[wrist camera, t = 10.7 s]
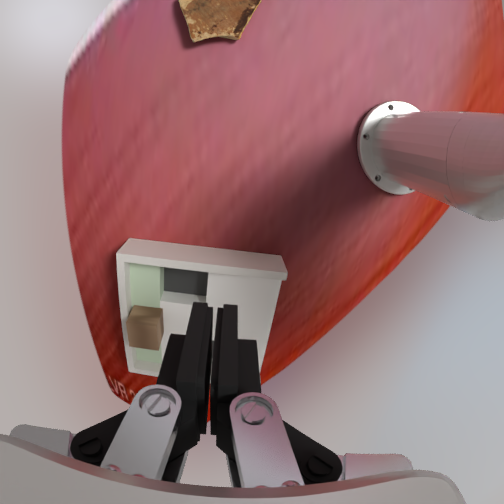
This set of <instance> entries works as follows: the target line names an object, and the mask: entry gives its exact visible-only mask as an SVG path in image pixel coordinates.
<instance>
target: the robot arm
mask: <svg viewBox="0 0 504 504" xmlns="http://www.w3.org/2000/svg"><path fill="white" fill-rule="evenodd" d="M388 107H389V109H388ZM363 135H365V138H363ZM357 150H358V157H359V160H360V164H361V166H362V168H363V170H364V172H365V174H366V175H367V177H368V178H369V179H370V181H371V182H373V183H374V184H375V185H376V186H377V187H379V188H380V189H382V190H384V191H386V192H388V193H392V194H396V195H404V194H409V193H412V192H414V191H418V192H420V193H423V194H425V195H427V196H430V197H432V198H435V199H437V200H439V201H441V202H444V203H446V204H448V205H450V206H453V207H455V208H457V209H459V210H461V211H463V212H465V213H468V214H470V215H472V216H474V217H476V218H479V219H482V220H486V221H498V220H502V219H504V114H500V113H482V112H456V111H424V112H421V111H420V110H418V109H417V108H416V107H414V106H413V105H411V104H409V103H406V102H402V101H388V102H384V103H381V104H379V105H377V106H375V107H374V108H373V109H372V110H370V111H369V112H368V113H367V115H366V116H365V118H364V119H363V121H362V123H361V126H360V128H359V133H358V138H357ZM375 177H376V179H375ZM212 332H213V307H208V303H204V302H193V305H192V309H191V314H190V318H189V322H188V327H187V331H186V335H182V334H172V333H171V334H170V336H169V340H168V343H167V347H166V350H165V354H164V357H163V361H162V364H161V368H160V372H159V375H158V379H157V383H156V385H150V386H147V387H144V388H143V389H141V390H140V391H139V392H138V393H137V394H136V396H135V397H134V399H133V401H132V403H131V405H130V407H129V409H128V410H126V411H124V412H122V413H120V414H118V415H116V416H114V417H111V418H109V419H107V420H105V421H103V422H101V423H98V424H96V425H94V426H92V427H90V428H87V429H85V430H83V431H81V432H79V433H77V434H72V433H71V432H70V431H66V430H57V429H50V428H43V427H36V426H31V425H18V426H16V427H15V428H14V429H13V430H12V431H11V433H10V435H9V436H8V435H3V434H0V504H466V502H465V500H464V498H463V496H462V494H461V493H460V491H459V489H458V488H457V486H456V485H455V484H454V482H453V481H452V480H451V479H450V478H448V477H447V476H446V475H443V474H441V473H437V472H433V471H426V470H413V467H412V464H411V461H410V460H409V459H408V458H407V457H405V456H403V455H400V454H350V453H346V454H345V455H344V456H341V455H336V454H335V453H333V452H332V451H331V450H329V449H327V448H326V447H324V446H322V445H321V444H319V443H317V442H316V441H314V440H312V439H311V438H309V437H308V436H306V435H305V434H303V433H301V432H300V431H298V430H297V429H295V428H294V427H292V426H291V425H289V424H288V423H286V422H285V421H283V420H282V418H281V415H280V412H279V409H278V407H277V405H276V403H275V402H274V401H273V400H272V399H271V398H270V397H268V396H266V395H264V394H261V384H260V373H259V361H258V349H257V341H256V340H250V339H238V305H231V304H223V308H220V307H218V308H217V318H216V328H215V338H214V348H213V359H212ZM211 366H212V370H211ZM210 378H211V384H210ZM209 389H210V420H211V435H216V446H217V447H218V448H220V449H221V450H222V451H223V452H224V453H225V454H226V459H227V465H228V470H229V475H230V481H231V486H232V488H231V487H212V486H199V485H189V484H181V483H180V479H181V476H182V472H183V469H184V466H185V462H186V459H187V456H188V450H189V449H191V448H192V447H194V446H195V445H197V442H198V441H200V434H206V426H207V414H208V401H209Z"/></svg>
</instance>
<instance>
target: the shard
mask: <svg viewBox="0 0 504 504" xmlns="http://www.w3.org/2000/svg"><path fill="white" fill-rule="evenodd" d="M178 1H179V3H180V7H181V10H182V12H183V15H184V17H185V20H186V22H187V25H188V28H189V33H190V37H191V39H192V41H193V42H197V41H201V40H203V39H207V38H212V37H222V38H228V39H233V40H239V39H240V37H241V34H242V32H243V31H244V28H245V27H246V25H247V24H248V22H249V21H250V18H251V17H252V14H253V13H254V11H255V10H256V8H257V7H258V5H259V4H260V3H261V0H178Z"/></svg>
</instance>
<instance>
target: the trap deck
mask: <svg viewBox="0 0 504 504" xmlns="http://www.w3.org/2000/svg"><path fill="white" fill-rule="evenodd" d="M116 260H117V278H118V291H119V303H120V313H121V322H122V330H123V338H124V345H125V351H126V358H127V364H128V370H129V372H133V373H139V374H144V375H150V376H156V377H158V375H159V372H160V368H161V364H162V361H163V357H164V354H165V350H166V347H167V343H168V340H169V336H170V334H171V333H172V334H182V335H186V331H187V327H188V322H189V318H190V314H191V309H192V305H193V302H204V303H208V307H213V332H212V359H213V348H214V338H215V328H216V318H217V308H218V307H220V308H223V304H231V305H238V339H250V340H256V341H257V349H258V361H259V373H260V370H261V366H262V362H263V358H264V354H265V350H266V346H267V342H268V338H269V333H270V329H271V325H272V321H273V317H274V312H275V308H276V304H277V299H278V295H279V290H280V286H281V281H282V280H285V281H286V279H287V275H288V272H287V269H286V267H285V264H284V262H283V259H282V256H281V255H272V254H264V253H255V252H246V251H238V250H229V249H220V248H212V247H203V246H194V245H186V244H177V243H169V242H160V241H151V240H143V239H134V238H129V239H128V240H127V241H126V242H125V244H124V245H123V246H122V247H121V248H120V249H119V250H118V252H117V253H116ZM134 305H139V306H147V307H155V308H163V323H164V334H163V337H162V340H161V344H160V348H159V351H156V350H149V349H142V348H136V347H129V341H128V334H127V328H126V321H127V319H128V317H129V315H130V313H131V311H132V308H133V306H134ZM211 370H212V366H211ZM210 383H211V378H210ZM260 384H261V380H260Z"/></svg>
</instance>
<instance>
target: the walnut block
mask: <svg viewBox="0 0 504 504" xmlns="http://www.w3.org/2000/svg"><path fill="white" fill-rule="evenodd" d="M126 328H127V334H128V341H129V347H136V348H142V349H149V350H156V351H159V348H160V344H161V340H162V337H163V334H164V323H163V308H155V307H147V306H139V305H134V306H133V308H132V311H131V313H130V315H129V317H128V319H127V321H126Z"/></svg>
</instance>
